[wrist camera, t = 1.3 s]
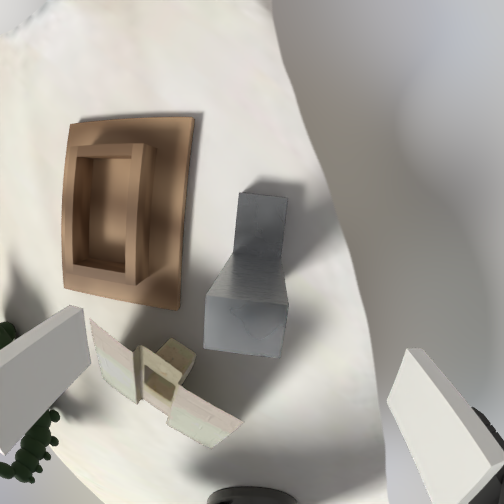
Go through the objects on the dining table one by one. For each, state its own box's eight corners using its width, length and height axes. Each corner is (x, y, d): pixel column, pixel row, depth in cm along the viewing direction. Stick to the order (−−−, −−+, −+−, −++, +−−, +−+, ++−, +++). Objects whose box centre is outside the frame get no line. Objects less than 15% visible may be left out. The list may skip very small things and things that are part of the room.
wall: (245, 397, 34) (282, 374, 23) (212, 452, 29) (231, 465, 17) (140, 330, 36) (121, 273, 25) (102, 379, 31) (60, 345, 19)
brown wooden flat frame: (180, 307, 28) (167, 323, 24) (68, 285, 29) (48, 296, 25) (194, 119, 25) (182, 107, 21) (75, 125, 25) (53, 119, 21)
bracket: (275, 284, 27) (280, 358, 14) (233, 279, 27) (203, 348, 15) (286, 197, 26) (302, 199, 13) (241, 192, 26) (214, 189, 13)
